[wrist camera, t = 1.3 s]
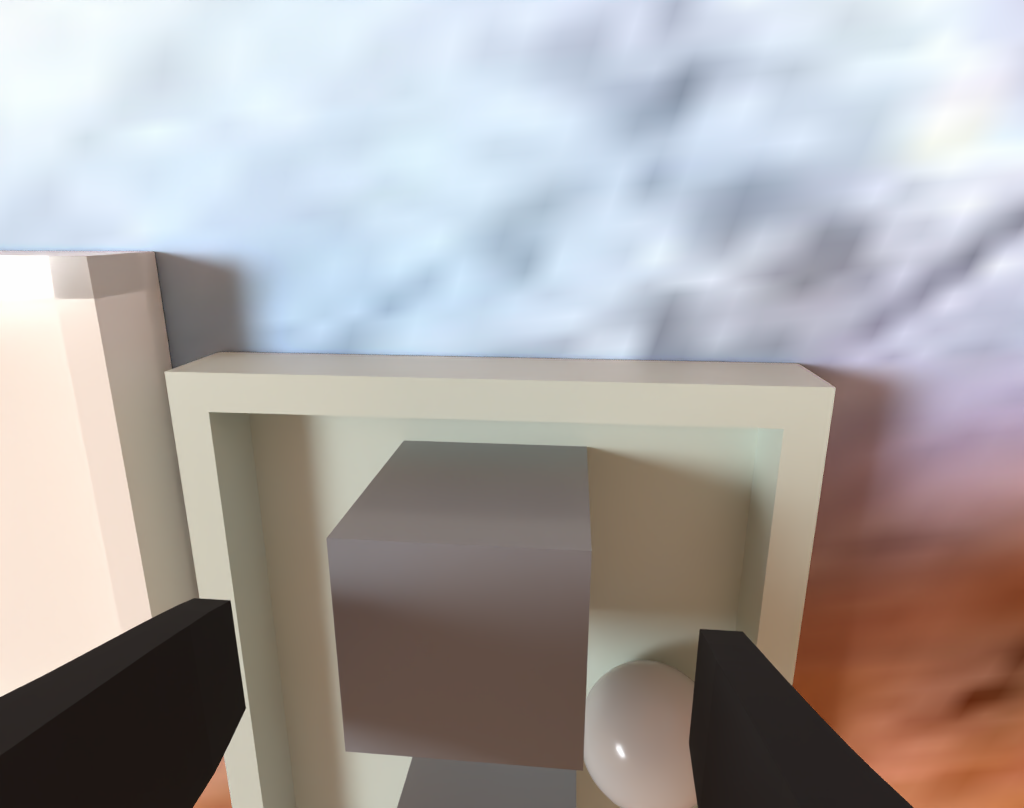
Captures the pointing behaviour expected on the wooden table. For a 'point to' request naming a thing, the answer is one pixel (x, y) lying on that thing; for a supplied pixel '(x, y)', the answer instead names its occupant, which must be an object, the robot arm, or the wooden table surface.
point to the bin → (501, 420)
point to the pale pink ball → (641, 736)
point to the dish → (84, 458)
